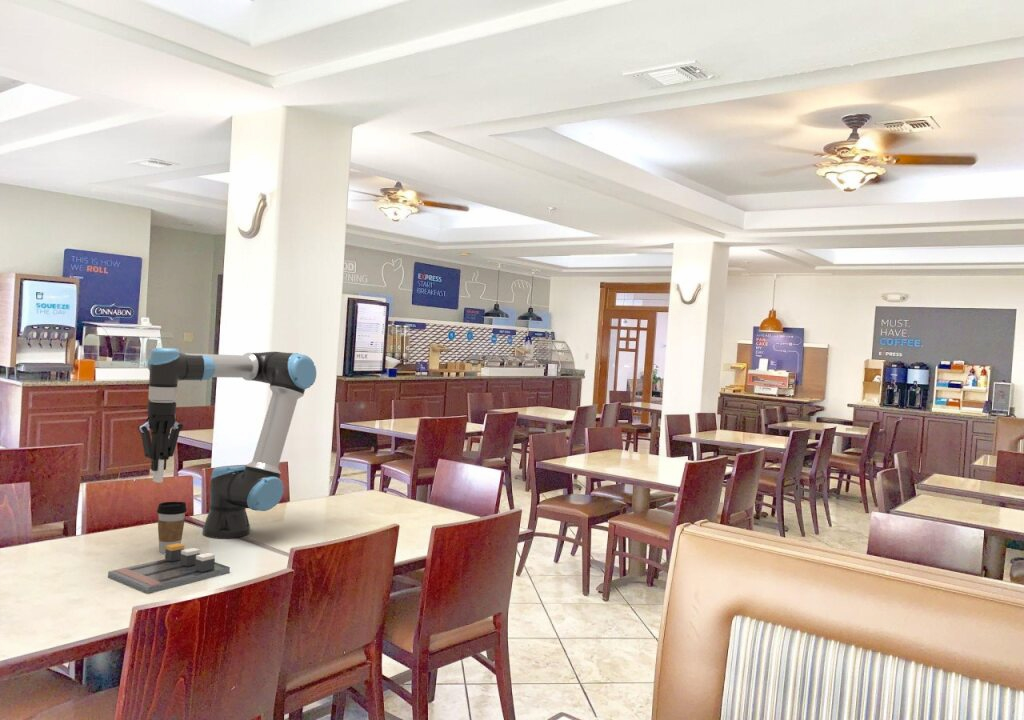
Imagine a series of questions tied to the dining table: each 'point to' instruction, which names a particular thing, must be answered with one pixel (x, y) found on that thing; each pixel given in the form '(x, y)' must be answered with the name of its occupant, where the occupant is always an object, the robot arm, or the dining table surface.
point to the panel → (163, 575)
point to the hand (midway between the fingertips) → (157, 481)
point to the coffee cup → (170, 523)
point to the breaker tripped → (173, 551)
